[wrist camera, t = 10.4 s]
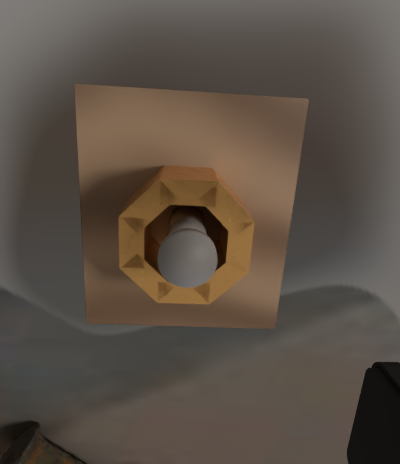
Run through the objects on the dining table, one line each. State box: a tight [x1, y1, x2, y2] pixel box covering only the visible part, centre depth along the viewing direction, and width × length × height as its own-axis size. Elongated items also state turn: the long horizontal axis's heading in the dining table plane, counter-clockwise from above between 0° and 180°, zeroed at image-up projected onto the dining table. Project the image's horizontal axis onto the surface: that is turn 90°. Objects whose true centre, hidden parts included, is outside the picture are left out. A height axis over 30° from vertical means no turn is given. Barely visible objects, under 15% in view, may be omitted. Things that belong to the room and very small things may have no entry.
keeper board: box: [74, 84, 309, 329], centre depth 19 cm, size 14×12×6 cm
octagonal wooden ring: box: [119, 165, 254, 304], centre depth 19 cm, size 6×6×4 cm
